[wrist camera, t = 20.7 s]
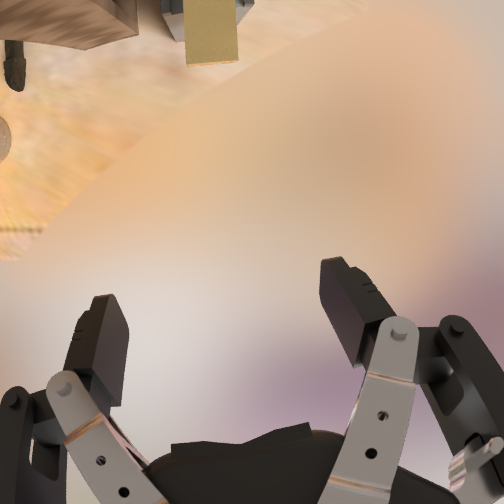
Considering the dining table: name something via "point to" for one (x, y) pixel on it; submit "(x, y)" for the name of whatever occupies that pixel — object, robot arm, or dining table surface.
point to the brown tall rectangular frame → (68, 21)
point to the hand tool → (15, 65)
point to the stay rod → (210, 32)
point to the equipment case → (175, 15)
